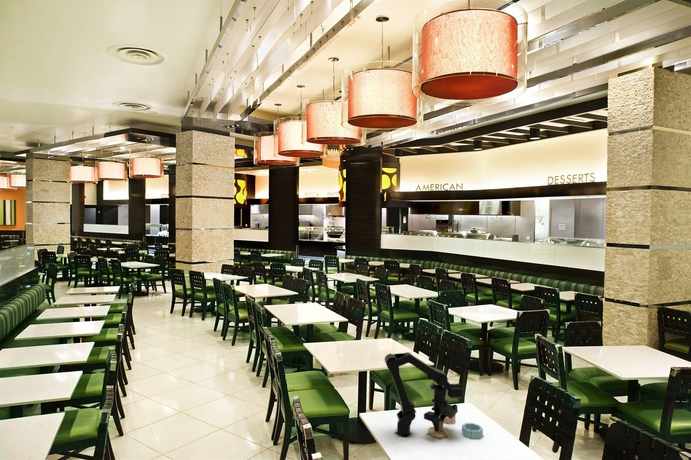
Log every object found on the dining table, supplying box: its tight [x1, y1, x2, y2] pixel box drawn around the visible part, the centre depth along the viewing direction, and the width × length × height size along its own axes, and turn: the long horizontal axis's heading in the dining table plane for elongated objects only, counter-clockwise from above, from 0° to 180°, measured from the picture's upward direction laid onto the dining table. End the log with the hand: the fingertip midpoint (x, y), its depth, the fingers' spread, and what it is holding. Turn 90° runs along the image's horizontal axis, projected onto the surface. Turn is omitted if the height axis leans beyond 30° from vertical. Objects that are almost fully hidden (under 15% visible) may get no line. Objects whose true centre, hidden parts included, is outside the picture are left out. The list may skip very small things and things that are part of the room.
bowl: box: [461, 422, 484, 440], centre depth 223 cm, size 9×9×4 cm
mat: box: [425, 431, 452, 441], centre depth 223 cm, size 10×8×1 cm
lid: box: [427, 420, 450, 439], centre depth 222 cm, size 10×10×6 cm
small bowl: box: [443, 416, 456, 425], centre depth 237 cm, size 7×7×4 cm
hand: (438, 429), depth 222 cm, fingers closed on lid, 3 cm apart
